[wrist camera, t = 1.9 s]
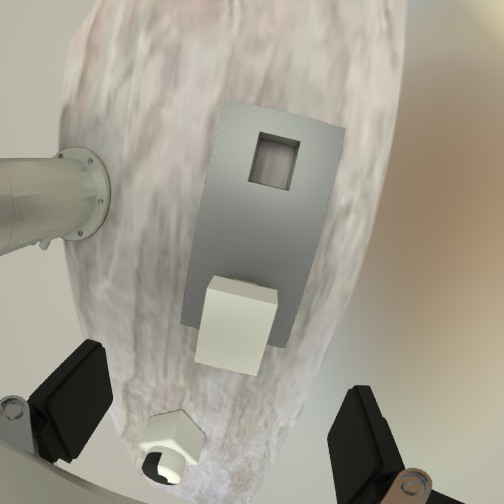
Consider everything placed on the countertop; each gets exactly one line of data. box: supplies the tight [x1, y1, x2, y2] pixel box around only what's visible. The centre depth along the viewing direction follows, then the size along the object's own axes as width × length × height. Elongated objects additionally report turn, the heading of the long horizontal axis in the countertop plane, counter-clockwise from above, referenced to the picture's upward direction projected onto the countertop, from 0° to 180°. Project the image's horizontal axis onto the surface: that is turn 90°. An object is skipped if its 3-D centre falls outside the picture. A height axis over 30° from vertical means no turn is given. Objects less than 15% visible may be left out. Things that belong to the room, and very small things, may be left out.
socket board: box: [180, 100, 346, 348], centre depth 31 cm, size 24×12×5 cm, turn 167°
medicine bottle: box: [139, 410, 205, 485], centre depth 36 cm, size 7×7×12 cm
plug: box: [194, 275, 278, 376], centre depth 26 cm, size 7×5×8 cm
